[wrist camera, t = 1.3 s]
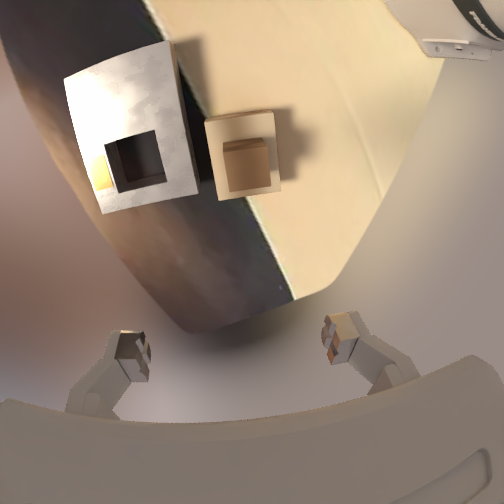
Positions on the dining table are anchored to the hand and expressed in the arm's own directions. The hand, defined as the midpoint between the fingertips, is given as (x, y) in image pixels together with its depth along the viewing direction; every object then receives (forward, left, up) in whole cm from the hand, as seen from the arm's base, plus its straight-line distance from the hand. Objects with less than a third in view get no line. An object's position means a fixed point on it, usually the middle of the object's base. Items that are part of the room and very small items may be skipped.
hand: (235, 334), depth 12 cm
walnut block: (-2, -1, -21) cm, 21 cm away
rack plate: (+9, -7, -24) cm, 27 cm away
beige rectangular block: (-2, -1, -24) cm, 24 cm away
